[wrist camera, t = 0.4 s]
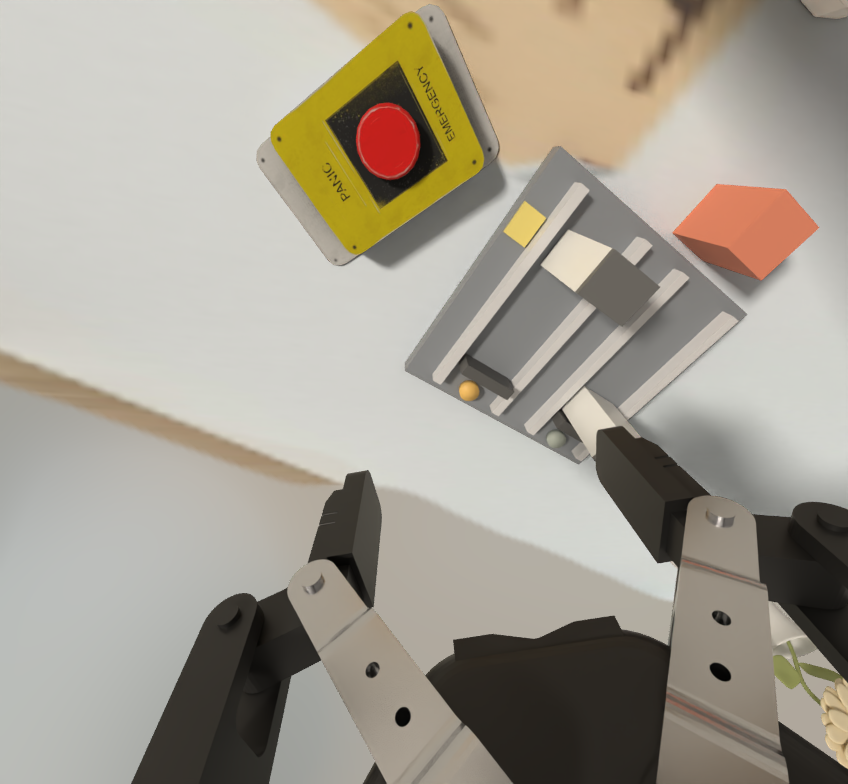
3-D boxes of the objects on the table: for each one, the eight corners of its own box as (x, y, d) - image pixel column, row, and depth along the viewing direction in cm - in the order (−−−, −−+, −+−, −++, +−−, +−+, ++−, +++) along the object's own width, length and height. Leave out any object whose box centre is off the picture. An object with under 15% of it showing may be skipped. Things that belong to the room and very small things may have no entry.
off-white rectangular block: (567, 229, 27) (615, 249, 21) (605, 259, 29) (660, 287, 22) (540, 264, 29) (577, 293, 22) (576, 292, 30) (622, 327, 24)
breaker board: (553, 146, 26) (574, 144, 23) (734, 308, 33) (770, 324, 30) (405, 362, 35) (404, 384, 31) (573, 455, 41) (587, 480, 38)
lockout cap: (716, 184, 28) (786, 189, 23) (746, 215, 29) (819, 227, 24) (672, 232, 29) (727, 247, 24) (702, 260, 31) (761, 280, 26)
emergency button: (517, 153, 23) (327, 284, 27) (502, 154, 27) (336, 269, 30) (441, -35, 18) (226, 153, 22) (435, -2, 22) (252, 154, 26)
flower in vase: (768, 521, 49) (1044, 796, 28) (698, 567, 54) (886, 830, 33) (703, 490, 45) (963, 779, 24) (634, 543, 50) (799, 820, 29)
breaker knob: (584, 385, 35) (623, 435, 28) (613, 404, 36) (656, 455, 30) (561, 408, 36) (594, 460, 30) (590, 425, 37) (627, 479, 31)
